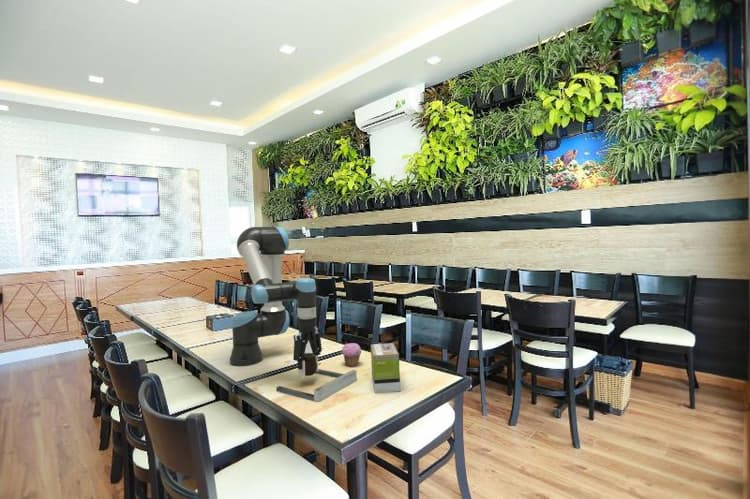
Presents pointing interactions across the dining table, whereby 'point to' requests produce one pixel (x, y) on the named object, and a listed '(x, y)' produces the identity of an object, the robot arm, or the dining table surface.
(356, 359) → the cupcake
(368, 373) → the dining table surface
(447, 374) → the dining table surface
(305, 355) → the mate gourd
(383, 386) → the tea box
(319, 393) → the u-shaped bar frame
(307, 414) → the dining table surface
